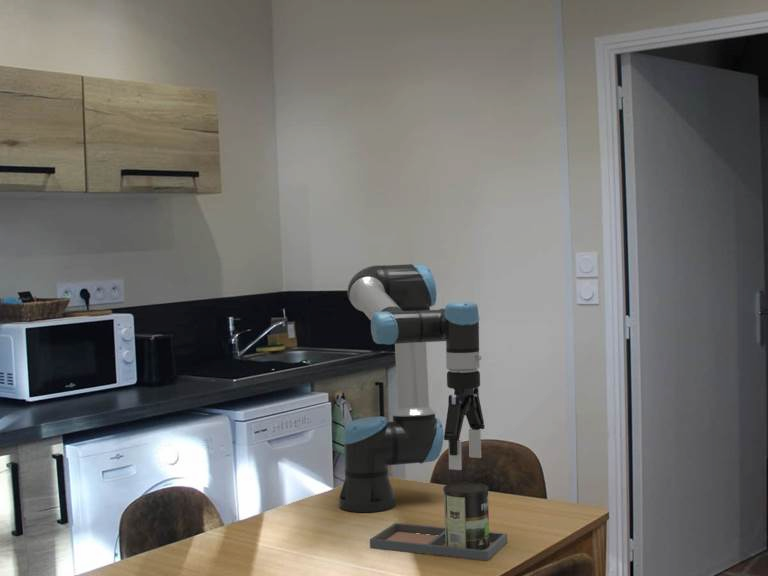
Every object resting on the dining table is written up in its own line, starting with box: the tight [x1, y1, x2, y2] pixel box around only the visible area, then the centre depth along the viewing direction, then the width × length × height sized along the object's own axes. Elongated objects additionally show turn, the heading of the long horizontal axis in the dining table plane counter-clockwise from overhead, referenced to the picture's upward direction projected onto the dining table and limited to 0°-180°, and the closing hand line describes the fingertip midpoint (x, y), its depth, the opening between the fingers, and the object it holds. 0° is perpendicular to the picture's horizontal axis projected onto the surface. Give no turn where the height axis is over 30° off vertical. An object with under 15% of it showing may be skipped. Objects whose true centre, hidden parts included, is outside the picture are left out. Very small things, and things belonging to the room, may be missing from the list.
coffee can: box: [443, 481, 491, 550], centre depth 224 cm, size 10×10×14 cm
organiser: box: [369, 522, 508, 562], centre depth 227 cm, size 15×28×2 cm, turn 66°
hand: (465, 463), depth 224 cm, fingers open, 13 cm apart
